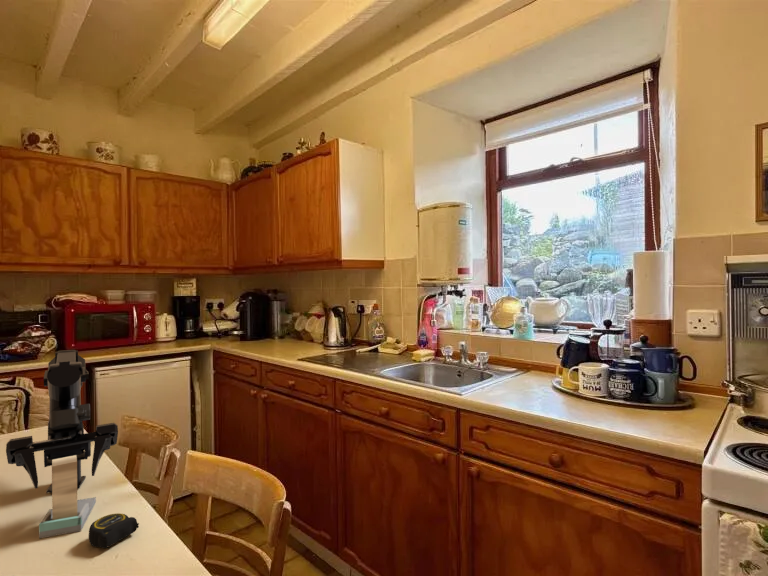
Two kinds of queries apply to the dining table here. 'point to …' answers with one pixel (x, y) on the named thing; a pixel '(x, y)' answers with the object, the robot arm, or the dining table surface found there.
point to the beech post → (64, 487)
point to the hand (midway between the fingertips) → (65, 481)
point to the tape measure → (111, 529)
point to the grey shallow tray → (67, 520)
